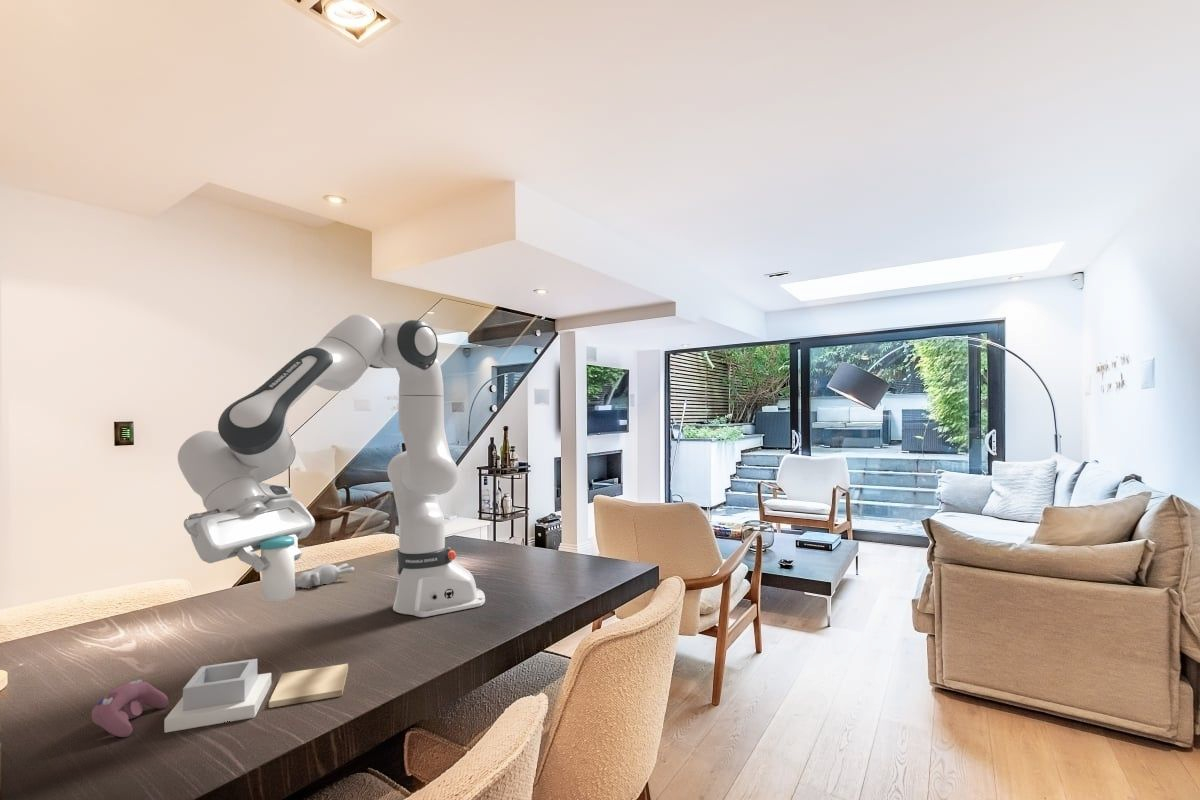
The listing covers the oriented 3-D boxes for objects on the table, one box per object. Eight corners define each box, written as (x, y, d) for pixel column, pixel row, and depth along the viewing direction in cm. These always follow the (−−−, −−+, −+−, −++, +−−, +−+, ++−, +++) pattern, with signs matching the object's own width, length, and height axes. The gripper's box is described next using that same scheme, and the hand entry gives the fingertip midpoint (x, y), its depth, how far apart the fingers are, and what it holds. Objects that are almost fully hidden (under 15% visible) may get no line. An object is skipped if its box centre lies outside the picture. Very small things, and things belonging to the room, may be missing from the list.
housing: (271, 683, 101) (271, 653, 101) (254, 717, 90) (254, 682, 90) (192, 696, 97) (192, 663, 97) (164, 732, 86) (164, 696, 86)
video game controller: (147, 716, 94) (127, 679, 93) (173, 702, 94) (153, 665, 94) (101, 751, 84) (78, 710, 84) (130, 735, 84) (108, 694, 84)
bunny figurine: (290, 571, 162) (344, 556, 172) (292, 589, 162) (346, 572, 172) (299, 578, 155) (355, 561, 165) (301, 596, 155) (357, 578, 165)
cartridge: (298, 590, 101) (296, 534, 101) (292, 599, 96) (291, 541, 96) (265, 594, 99) (263, 538, 100) (258, 604, 95) (256, 544, 95)
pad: (348, 668, 106) (348, 663, 106) (342, 695, 96) (342, 689, 96) (282, 678, 103) (282, 673, 103) (268, 707, 92) (268, 701, 92)
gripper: (187, 503, 91) (231, 568, 87) (296, 485, 110) (336, 537, 106) (170, 530, 92) (212, 594, 89) (280, 507, 112) (319, 559, 108)
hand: (280, 563), depth 98 cm, fingers closed on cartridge, 5 cm apart
